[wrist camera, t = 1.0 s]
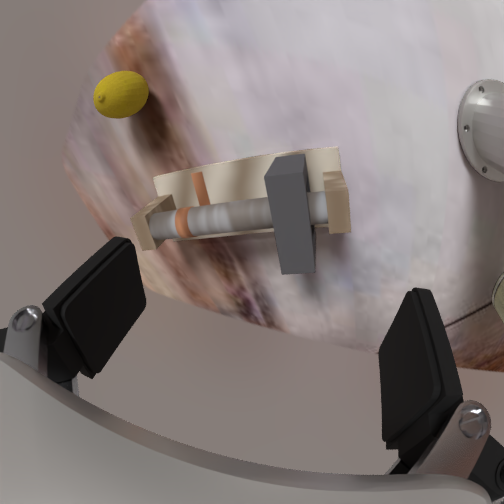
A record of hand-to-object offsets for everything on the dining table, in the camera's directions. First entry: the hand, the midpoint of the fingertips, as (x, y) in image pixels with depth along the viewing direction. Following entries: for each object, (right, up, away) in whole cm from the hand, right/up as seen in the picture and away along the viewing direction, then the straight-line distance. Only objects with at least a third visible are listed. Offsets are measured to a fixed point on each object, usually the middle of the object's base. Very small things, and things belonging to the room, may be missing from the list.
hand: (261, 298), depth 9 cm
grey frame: (+4, +7, +20) cm, 22 cm away
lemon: (-14, +21, +19) cm, 31 cm away
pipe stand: (-1, +8, +24) cm, 25 cm away
